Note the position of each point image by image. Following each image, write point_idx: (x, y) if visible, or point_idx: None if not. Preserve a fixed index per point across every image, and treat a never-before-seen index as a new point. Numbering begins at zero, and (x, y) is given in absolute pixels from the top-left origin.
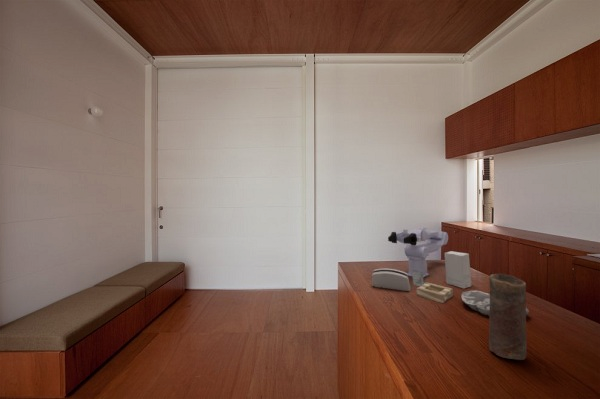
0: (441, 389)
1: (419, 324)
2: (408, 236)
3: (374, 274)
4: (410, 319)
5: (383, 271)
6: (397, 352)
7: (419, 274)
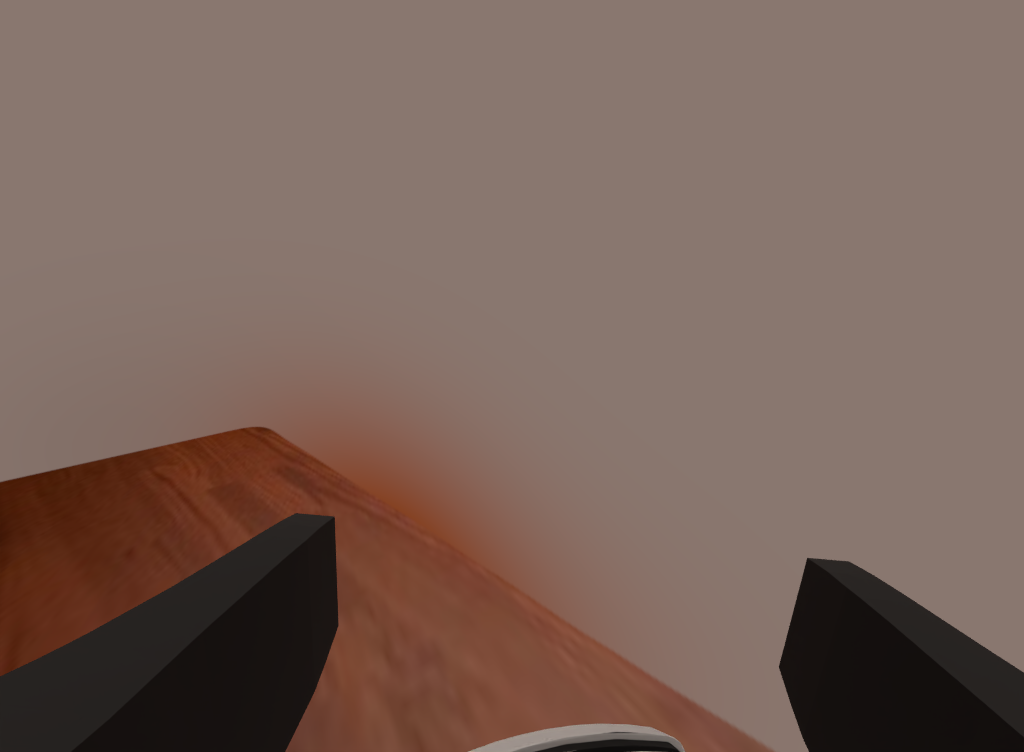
0: (209, 438)
1: None
2: (135, 642)
3: (644, 728)
4: None
5: (570, 735)
6: (300, 463)
7: None
